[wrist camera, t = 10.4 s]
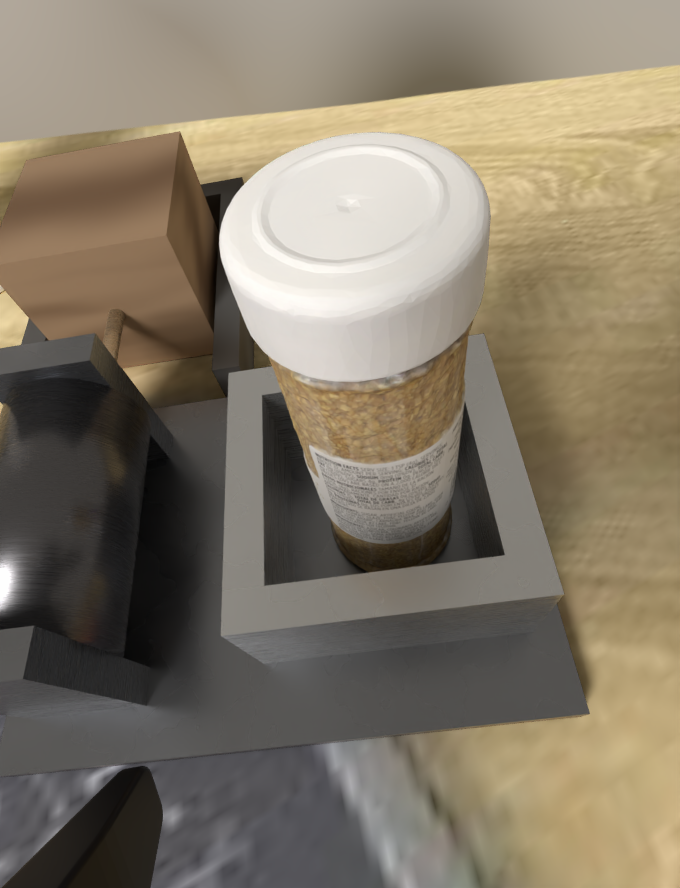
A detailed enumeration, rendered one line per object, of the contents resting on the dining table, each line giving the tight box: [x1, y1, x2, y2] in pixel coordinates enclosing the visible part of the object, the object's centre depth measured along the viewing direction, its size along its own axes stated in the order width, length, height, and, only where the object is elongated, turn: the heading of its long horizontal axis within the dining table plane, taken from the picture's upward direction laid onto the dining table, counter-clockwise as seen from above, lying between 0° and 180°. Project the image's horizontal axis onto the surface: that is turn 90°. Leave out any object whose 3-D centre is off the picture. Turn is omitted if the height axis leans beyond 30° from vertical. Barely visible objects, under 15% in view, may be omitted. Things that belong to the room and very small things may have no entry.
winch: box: [0, 309, 590, 777], centre depth 19 cm, size 19×19×8 cm
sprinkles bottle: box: [219, 132, 491, 573], centre depth 14 cm, size 5×5×13 cm
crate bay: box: [0, 131, 254, 397], centre depth 26 cm, size 14×11×7 cm
